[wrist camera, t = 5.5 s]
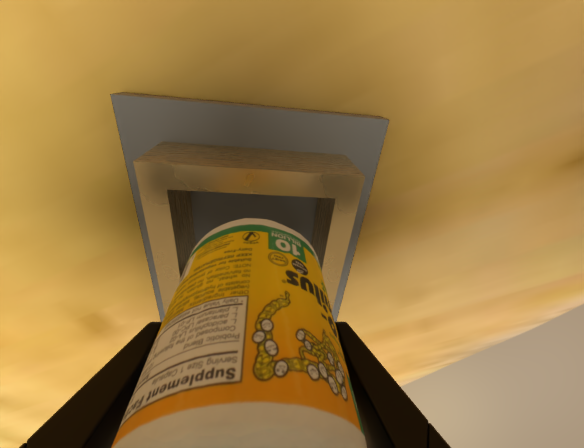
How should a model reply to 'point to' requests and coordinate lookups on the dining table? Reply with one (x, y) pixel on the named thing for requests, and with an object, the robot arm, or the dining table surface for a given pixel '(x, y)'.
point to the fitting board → (251, 134)
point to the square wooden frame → (248, 180)
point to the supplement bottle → (246, 352)
